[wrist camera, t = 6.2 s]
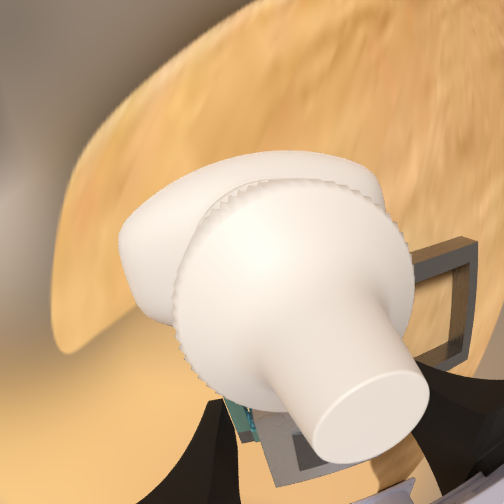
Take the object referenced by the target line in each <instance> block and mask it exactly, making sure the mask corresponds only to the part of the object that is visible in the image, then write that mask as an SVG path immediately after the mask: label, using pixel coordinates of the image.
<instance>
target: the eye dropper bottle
mask: <svg viewBox="0 0 504 504" xmlns="http://www.w3.org/2000/svg"><path fill="white" fill-rule="evenodd" d="M119 254H120V258H121V263H122V266H123V269H124V272H125V276H126V279H127V281H128V284H129V287H130V290H131V292H132V295H133V297H134V299H135V301H136V304H137V305H138V307H139V308H140V309H141V310H142V312H143V313H144V314H145V315H146V316H148V317H150V318H151V319H153V320H155V321H157V322H159V323H162V324H166V325H169V326H172V327H174V328H175V329H176V330H177V331H176V335H175V338H176V339H177V340H178V341H179V342H180V347H179V349H180V350H181V351H182V352H183V353H184V354H185V358H184V359H185V360H186V361H187V362H188V363H189V364H191V370H193V371H194V372H195V373H197V374H198V378H199V379H200V380H202V381H204V382H205V383H207V385H206V386H207V387H210V388H211V389H213V390H215V392H216V393H217V394H219V395H222V396H224V397H225V399H227V400H230V401H233V402H235V404H239V405H242V406H245V407H247V408H252V409H256V410H261V411H267V412H288V413H289V414H290V416H291V417H292V419H293V420H294V422H295V423H296V425H297V426H298V428H299V429H300V431H301V432H302V434H303V435H304V437H305V438H306V440H307V441H308V442H309V444H310V445H311V447H312V448H313V450H314V451H315V453H316V454H317V455H318V456H319V457H320V458H321V459H323V460H325V461H327V462H330V463H334V464H352V463H357V462H361V461H365V460H368V459H371V458H373V457H376V456H378V455H380V454H382V453H384V452H385V451H387V450H389V449H390V448H392V447H393V446H395V445H396V444H398V443H399V442H400V441H401V440H403V439H404V438H405V437H406V436H407V435H408V434H409V433H410V432H411V431H412V430H413V429H414V428H415V426H416V425H417V424H418V422H419V421H420V419H421V418H422V416H423V414H424V412H425V410H426V408H427V405H428V401H429V394H430V393H429V386H428V384H427V382H426V380H425V378H424V376H423V374H422V373H421V371H420V369H419V367H418V366H417V364H416V362H415V360H414V359H413V357H412V355H411V354H410V352H409V350H408V349H407V347H406V345H405V344H404V342H403V340H402V337H403V335H404V333H405V330H406V328H407V325H408V322H409V319H410V316H411V312H412V307H413V303H414V293H415V287H414V286H415V276H414V265H413V264H412V254H411V253H409V248H408V243H407V242H405V241H404V235H403V232H400V231H399V229H398V225H397V222H393V221H392V220H391V217H390V214H389V213H387V212H386V208H385V202H384V198H383V194H382V189H381V186H380V184H379V182H378V180H377V178H376V176H375V175H374V174H373V173H372V172H370V171H369V170H368V169H367V168H366V167H364V166H363V165H361V164H358V163H356V162H353V161H351V160H348V159H344V158H341V157H337V156H333V155H328V154H323V153H317V152H309V151H293V150H285V151H267V152H258V153H252V154H246V155H241V156H237V157H233V158H229V159H225V160H222V161H219V162H216V163H213V164H210V165H207V166H205V167H202V168H200V169H198V170H195V171H193V172H191V173H189V174H187V175H185V176H183V177H181V178H179V179H177V180H176V181H174V182H172V183H171V184H169V185H167V186H166V187H164V188H163V189H161V190H160V191H158V192H157V193H156V194H154V195H153V196H152V197H150V198H149V199H148V200H146V201H145V202H144V203H143V204H142V205H141V206H140V207H138V208H137V209H136V210H135V211H134V212H133V213H132V214H131V215H130V216H129V218H128V219H127V220H126V221H125V222H124V224H123V226H122V228H121V230H120V232H119Z"/></svg>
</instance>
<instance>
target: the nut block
mask: <svg viewBox="0 0 504 504" xmlns="http://www.w3.org/2000/svg"><path fill="white" fill-rule="evenodd" d="M252 414H253V419H254V423H255V427H256V430H257V433H258V436H259V439H260V442H261V445H262V448H263V451H264V454H265V457H266V460H267V463H268V466H269V469H270V472H271V474H272V477H273V480H274V483H275V486H276V487H281V486H286V485H291V484H295V483H299V482H303V481H306V480H310V479H314V478H317V477H321V476H324V475H327V474H331V473H334V472H337V471H340V470H343V469H346V468H349V467H352V466H354V465H357V464H360V463H363V462H365V461H368V460H370V459H368V460H365V461H361V462H357V463H352V464H334V463H330V462H327V461H325V460H323V459H321V458H320V457H319V456H318V455H317V454H316V453H315V451H314V450H313V448H312V447H311V445H310V444H309V442H308V441H307V440H306V438H305V437H304V435H303V434H302V432H301V431H300V429H299V428H298V426H297V425H296V423H295V422H294V420H293V419H292V417H291V416H290V414H289V413H288V412H267V411H261V410H256V409H252ZM380 455H381V454H380ZM380 455H378V456H380ZM378 456H376V457H378ZM373 458H375V457H373ZM373 458H371V459H373Z"/></svg>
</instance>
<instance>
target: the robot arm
mask: <svg viewBox="0 0 504 504" xmlns="http://www.w3.org/2000/svg"><path fill="white" fill-rule="evenodd" d="M415 362H416V364H417V366H418V367H419V369H420V371H421V373H422V374H423V376H424V378H425V380H426V382H427V384H428V386H429V393H430V394H429V401H428V405H427V408H426V410H425V412H424V414H423V416H422V418H421V419H420V421H419V422H418V424H417V425H416V426H415V428H414V429H413V430H412V431H411V433H412V435H413V436H414V438H415V439H416V441H417V443H418V444H419V446H420V448H421V450H422V452H423V453H424V455H425V457H426V459H427V461H428V463H429V465H430V467H431V470H432V472H433V474H434V476H435V478H436V481H437V483H438V486H439V488H440V491H441V494H442V497H441V498H439V499H437V500H436V501H434V502H432V503H430V504H504V380H486V379H477V378H470V377H464V376H460V375H456V374H452V373H448V372H445V371H442V370H439V369H436V368H434V367H431V366H428V365H426V364H424V363H421V362H419V361H417V360H415ZM238 478H239V476H238V447H237V441H236V435H235V429H234V426H233V424H232V421H231V419H230V416H229V414H228V411H227V408H226V406H225V403H224V401H223V399H217V400H211V401H209V402H208V403H207V405H206V408H205V411H204V414H203V416H202V418H201V421H200V423H199V426H198V428H197V430H196V432H195V434H194V436H193V438H192V440H191V442H190V443H189V445H188V447H187V449H186V450H185V452H184V454H183V455H182V457H181V458H180V460H179V461H178V463H177V464H176V465H175V467H174V468H173V469H172V470H171V472H170V473H169V474H168V475H167V477H166V478H165V479H164V480H163V481H162V482H161V483H160V484H159V485H158V486H157V487H156V488H155V489H154V490H153V491H152V492H150V493H149V494H148V495H147V496H146V497H145V498H143V499H142V500H141V501H139V502H138V503H137V504H241V500H240V494H239V479H238ZM414 483H415V478H414V477H412V478H410V479H408V480H406V481H403V482H401V483H399V484H397V485H395V486H393V487H391V488H388V489H386V490H384V491H381V492H379V493H377V494H374V495H372V496H369V497H367V498H364V499H361V500H359V501H356V502H353V503H350V504H414V503H413V501H412V500H411V498H410V493H411V490H412V488H413V485H414Z"/></svg>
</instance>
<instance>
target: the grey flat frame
mask: <svg viewBox="0 0 504 504" xmlns="http://www.w3.org/2000/svg"><path fill="white" fill-rule="evenodd" d="M411 254H412V264H413V265H414V276H415V283H417V282H420V281H423V280H425V279H428V278H431V277H433V276H436V275H439V274H441V273H444V272H446V271H449V270H452V269H453V293H452V310H451V323H450V333H449V342H447V343H445V344H443V345H441V346H439V347H437V348H434V349H432V350H430V351H428V352H426V353H424V354H422V355H420V356H417V357H415V358H413V359H414V360H417V361H419V362H421V363H424V364H426V365H428V366H431V367H434V368H436V369H439V370H442V371H445V372H446V371H448V370H450V369H451V368H453V367H455V366H457V365H459V364H460V363H462V362H464V361H465V360H467V358H468V353H469V347H470V341H471V335H472V328H473V320H474V311H475V301H476V289H477V271H478V241H475V240H472V239H468V238H465V237H462V236H460V237H457V238H454V239H451V240H448V241H445V242H442V243H439V244H436V245H433V246H430V247H426V248H423V249H420V250H417V251H414V252H411ZM223 397H224V396H223ZM224 400H225V403H226V405H227V408H228V410H229V413H230V415H231V418H232V420H233V423H234V425H235V428H236V430H237V433H238V435H239V438H240V440H241V442H242V443H247V442H252V441H255V442H260V439H259V436H258V433H257V430H256V427H255V423H254V419H253V414H252V408H249V411H250V412H248V409H247V407H245V406H242V405H239V404H235V402H233V401H230V400H227V399H225V397H224Z"/></svg>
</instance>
